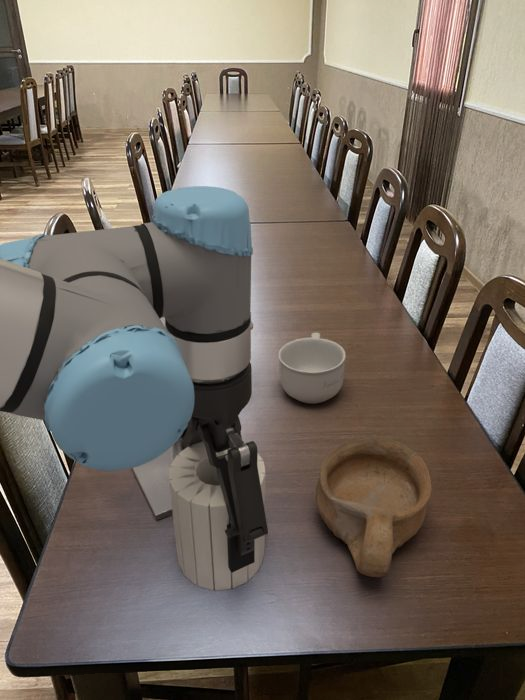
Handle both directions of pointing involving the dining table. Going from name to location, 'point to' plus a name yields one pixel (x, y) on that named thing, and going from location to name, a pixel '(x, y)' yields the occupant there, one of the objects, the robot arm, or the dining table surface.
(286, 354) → the teacup
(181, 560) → the paper towel roll
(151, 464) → the towel stand
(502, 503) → the dining table surface
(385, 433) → the dining table surface
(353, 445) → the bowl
